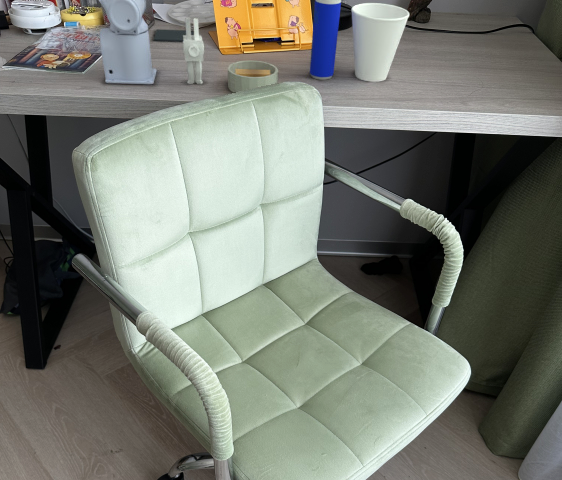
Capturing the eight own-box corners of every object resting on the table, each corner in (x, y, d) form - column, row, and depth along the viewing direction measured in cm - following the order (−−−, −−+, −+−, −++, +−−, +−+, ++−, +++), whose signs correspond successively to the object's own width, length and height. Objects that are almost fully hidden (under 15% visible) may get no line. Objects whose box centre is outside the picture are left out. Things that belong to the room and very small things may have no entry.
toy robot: (186, 91, 114) (181, 22, 105) (184, 77, 119) (180, 11, 111) (206, 91, 115) (203, 23, 106) (203, 77, 120) (200, 11, 111)
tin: (228, 95, 113) (227, 77, 111) (228, 77, 120) (227, 59, 118) (278, 97, 114) (279, 78, 112) (275, 79, 121) (276, 61, 119)
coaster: (153, 40, 135) (153, 39, 134) (156, 31, 140) (156, 29, 140) (192, 42, 135) (192, 40, 135) (193, 32, 141) (193, 30, 140)
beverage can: (318, 70, 126) (325, -10, 115) (337, 76, 124) (346, -5, 113) (304, 76, 123) (310, -6, 112) (323, 82, 121) (331, -1, 110)
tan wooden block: (235, 87, 116) (235, 73, 114) (235, 82, 118) (235, 68, 116) (270, 88, 116) (270, 74, 114) (269, 83, 118) (269, 69, 116)
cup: (332, 73, 125) (339, 7, 116) (368, 63, 131) (377, -1, 122) (373, 90, 119) (383, 22, 110) (409, 78, 125) (421, 13, 116)
